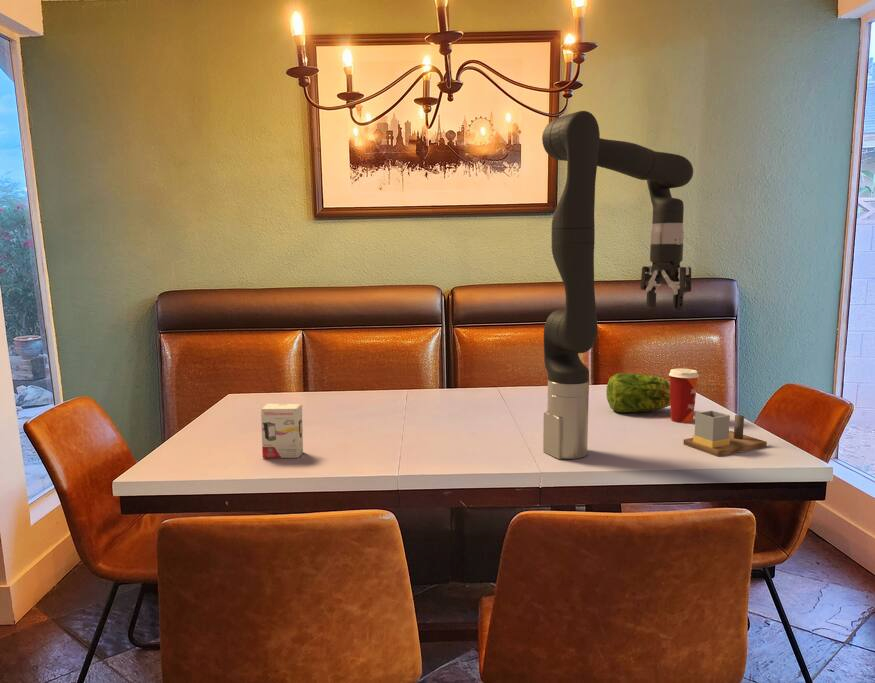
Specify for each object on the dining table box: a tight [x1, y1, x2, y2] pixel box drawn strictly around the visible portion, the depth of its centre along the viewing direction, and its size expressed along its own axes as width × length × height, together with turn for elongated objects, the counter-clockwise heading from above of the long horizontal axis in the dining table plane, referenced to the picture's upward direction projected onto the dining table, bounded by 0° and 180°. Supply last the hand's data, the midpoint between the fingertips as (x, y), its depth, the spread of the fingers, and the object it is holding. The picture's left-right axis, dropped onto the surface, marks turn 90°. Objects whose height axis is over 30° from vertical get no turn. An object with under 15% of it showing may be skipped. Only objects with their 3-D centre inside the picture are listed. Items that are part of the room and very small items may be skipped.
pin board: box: [682, 414, 768, 457], centre depth 145 cm, size 16×10×7 cm, turn 114°
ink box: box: [260, 403, 304, 459], centre depth 141 cm, size 9×5×12 cm, turn 89°
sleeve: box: [692, 410, 731, 448], centre depth 143 cm, size 6×6×7 cm
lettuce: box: [605, 372, 671, 414], centre depth 176 cm, size 12×21×11 cm, turn 88°
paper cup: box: [668, 368, 700, 424], centre depth 166 cm, size 8×8×14 cm
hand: (664, 308), depth 150 cm, fingers open, 8 cm apart
